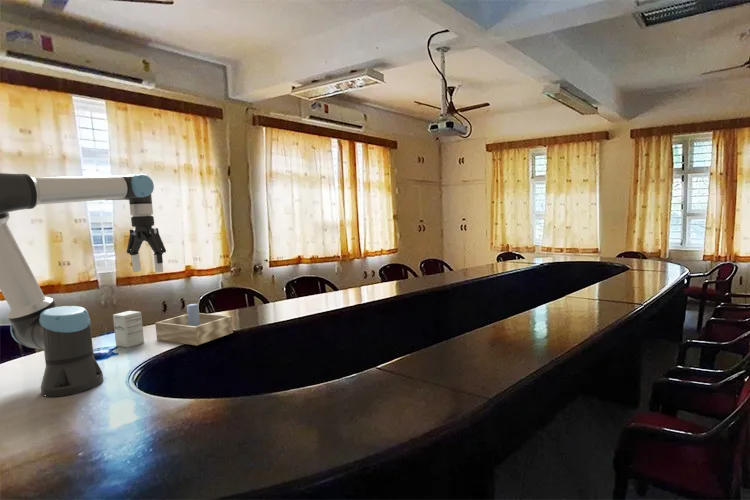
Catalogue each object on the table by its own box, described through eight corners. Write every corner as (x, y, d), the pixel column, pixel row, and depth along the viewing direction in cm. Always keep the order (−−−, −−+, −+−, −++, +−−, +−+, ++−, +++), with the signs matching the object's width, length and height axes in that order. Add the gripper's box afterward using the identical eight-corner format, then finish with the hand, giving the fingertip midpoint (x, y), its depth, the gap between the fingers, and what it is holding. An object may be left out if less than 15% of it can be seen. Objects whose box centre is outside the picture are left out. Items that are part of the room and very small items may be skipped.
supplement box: (115, 346, 170) (111, 314, 169) (133, 340, 176) (130, 310, 175) (127, 348, 166) (123, 315, 165) (145, 342, 173) (141, 311, 172)
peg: (194, 338, 175) (191, 306, 174) (187, 337, 177) (184, 305, 176) (203, 335, 179) (200, 304, 177) (196, 334, 181) (193, 303, 180)
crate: (196, 345, 164) (195, 327, 164) (156, 339, 176) (155, 322, 175) (233, 332, 180) (231, 316, 179) (194, 328, 191) (192, 312, 191)
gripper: (172, 213, 160) (178, 271, 161) (131, 216, 172) (137, 270, 173) (153, 214, 153) (159, 274, 155) (112, 217, 165) (118, 272, 167)
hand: (148, 272), depth 164 cm, fingers open, 13 cm apart
